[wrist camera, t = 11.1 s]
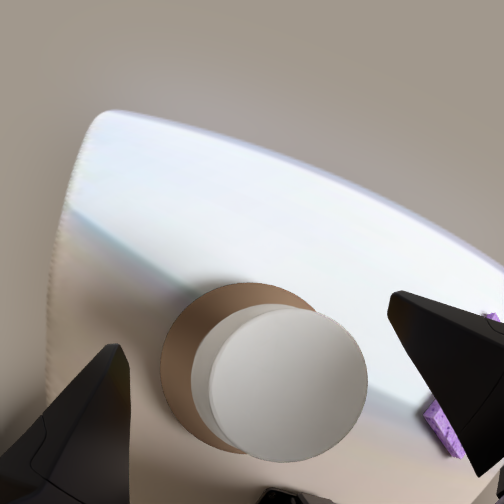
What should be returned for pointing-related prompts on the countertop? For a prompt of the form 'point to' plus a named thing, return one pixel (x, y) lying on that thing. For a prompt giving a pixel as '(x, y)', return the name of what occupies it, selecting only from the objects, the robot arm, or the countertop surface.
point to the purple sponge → (447, 422)
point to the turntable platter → (192, 335)
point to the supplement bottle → (279, 382)
